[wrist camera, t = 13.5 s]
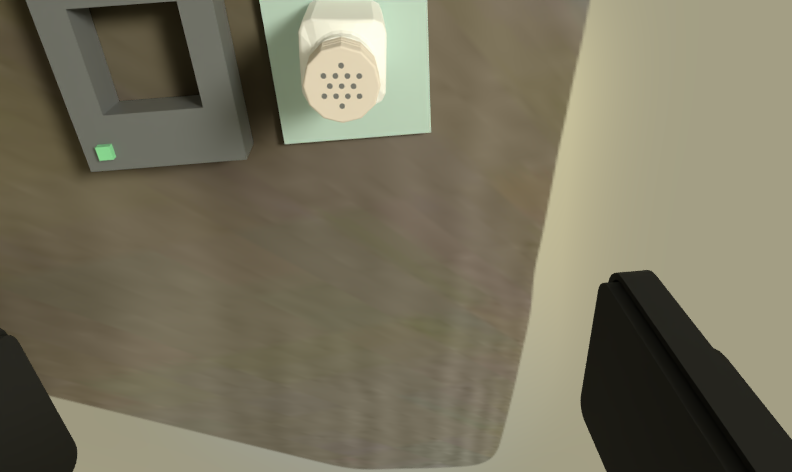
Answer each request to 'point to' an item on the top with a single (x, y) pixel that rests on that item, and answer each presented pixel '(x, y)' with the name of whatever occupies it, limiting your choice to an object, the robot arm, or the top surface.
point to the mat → (404, 75)
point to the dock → (147, 118)
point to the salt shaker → (343, 57)
